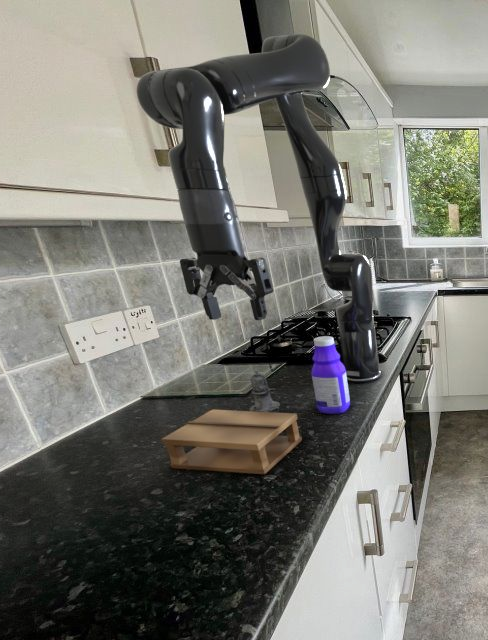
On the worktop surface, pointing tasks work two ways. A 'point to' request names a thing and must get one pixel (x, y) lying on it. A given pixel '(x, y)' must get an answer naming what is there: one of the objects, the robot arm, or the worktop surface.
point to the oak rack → (233, 441)
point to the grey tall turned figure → (262, 395)
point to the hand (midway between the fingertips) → (237, 319)
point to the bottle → (329, 378)
